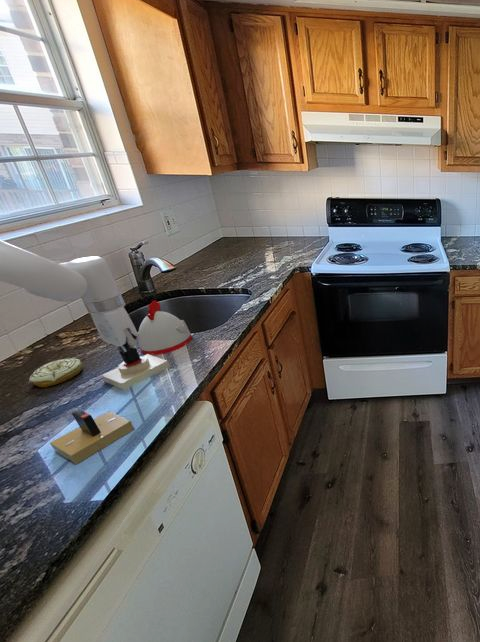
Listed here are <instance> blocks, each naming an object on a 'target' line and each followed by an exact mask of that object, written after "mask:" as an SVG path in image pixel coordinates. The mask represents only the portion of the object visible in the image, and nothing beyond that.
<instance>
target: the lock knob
mask: <svg viewBox="0 0 480 642" xmlns="http://www.w3.org/2000/svg"><path fill="white" fill-rule="evenodd" d="M71 416H72V418H74V420H75V422H76V423H77V425H78V427H80V428H81V430H82V431H84V432H86V433H88V434H90V435H91V436H93V437H94V436H96V435H97V434H99V433H101V432H100V430H99V428H98V426H97V425H96V423H95V421H94V420H93V419H94V418H93V416H92V415H91V414H90V413H88V412H87V411H84V410H82V409H80V408H79V409H77V410H74V411H73V412H71Z"/></svg>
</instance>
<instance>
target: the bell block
mask: <svg viewBox="0 0 480 642" xmlns="http://www.w3.org/2000/svg"><path fill="white" fill-rule="evenodd" d="M139 356H140V355H139ZM140 360H141V362H140V363H139V364H136V365H134V366H130V367H126V366H125V362H124V361H122V362H121V363H120V364H118V367H116V368H114V369H112V370H110V371H108V372H105V373H103V374H101V378H102V379H103V382H104V383H107V384H109V385H112V386H114V387H116V388H118V389H121V390H124V391H126V390H127V389H130V388H131V387H133V386H135V385H137V384H140V383H141V382H143V381H145V380H147V379H149V378H151V377H153V376H155V375H156V374H159V373H160V372H163V371H164V370H167V369H168V368H170V367H171V365H170V363H169V360H166V359H164V358H161V357H158V356H156V355H150V354H146V355H145V354H143V355H142V356H140Z"/></svg>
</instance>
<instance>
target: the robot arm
mask: <svg viewBox="0 0 480 642" xmlns="http://www.w3.org/2000/svg"><path fill="white" fill-rule="evenodd" d="M109 267H110V266H109V265H108V262H107V261H106V260H105V258H104V257H102V256H95V255H94V256H85V257H80V258H79V257H78V258H75V259H71V260H70V261H67V262H61V263H58V262H55V261H54V260H51V259H48V258H46V257H44V256H41V255H38V254H36V253H33V252H30V251H28V250H27V249H24V248H21V247H18V246H15V245H14V244H11V243H8V242H6V241H4V240H2V239H0V282H4V283H6V284H9V285H12V286H16V287H18V288H22V289H24V290H25V291H26V292H28V293H29V294H31V295H33V296H36V297H40V298H45V299H49V300H52V301H57V302H61V303H62V302H67V303H68V302H73V301H77V300H78V299H81V300H82V302H83V305H84V307H85V308H86V310H87V312H88V314H89V315H90V316H91V318H92V322H93V324H94V326H95V328H96V331H97V333H98V335H99V337H100V340H102V341H103V342H104V343H107V344H110V345H113V346H115V348H116V349H117V351H119V354H120V356H121V358H122V361H123V362H125V363H127V364H131V363H133V362H135V361H137V360H139V359H140V354H139V352H138V350H137V346H138V343H137V341H136V340H138V337H139V336H138V333H137V332H138V331H137V329H136V326H135V324H134V322H133V320H132V319H131V317H130V315H129V313H128V311H127V310H126V308H125V306H126V302H125V300H124V298H123V296H122V293H121V291H120V289H119V287H118V283H116V280H115V278H114V276H113V273H112V271H111V269H110V268H109Z"/></svg>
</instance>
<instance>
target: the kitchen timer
mask: <svg viewBox="0 0 480 642" xmlns="http://www.w3.org/2000/svg"><path fill="white" fill-rule="evenodd" d="M147 306H148V309H147V312H148V314H146V316H145V317H144V318H143V320H142V321H141V323H140V325H139V328H138V331H137V333H138V336H139V337H138V339H137V340H138V346H139V349H140V351H141V354H143V355H146V354H150V355H153V356H159V355H164V354H168V353H172V352H175V351H178V350H179V349H182V348H183V347H186V346H187V345H188V344H189V343H190V342H191V341H192V340H193V336H192V334H191V331H190V330H189V328H188V325H187V323H186V321H185V320H184V319H180V318H179V317H177V316H176V315H173V314H172V313H170V312H166V311H163V310H161V304H160V301H158V302H157V300H152V302H149V304H147Z"/></svg>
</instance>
